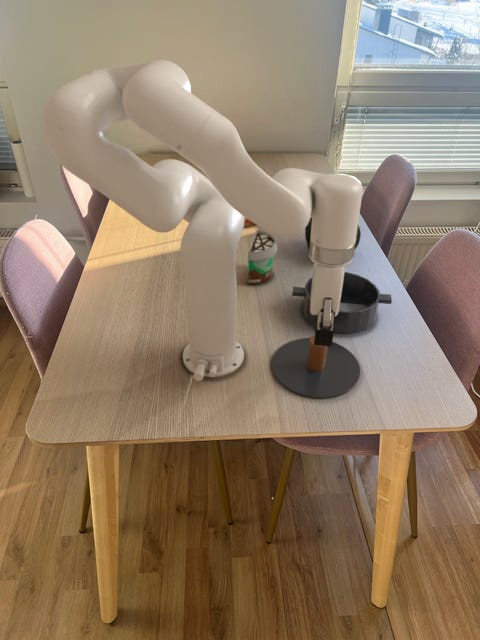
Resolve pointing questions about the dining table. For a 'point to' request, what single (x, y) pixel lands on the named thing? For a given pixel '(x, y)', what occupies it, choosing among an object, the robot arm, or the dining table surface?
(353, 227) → the robot arm
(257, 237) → the food container
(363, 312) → the pot
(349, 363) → the lid
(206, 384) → the dining table surface
